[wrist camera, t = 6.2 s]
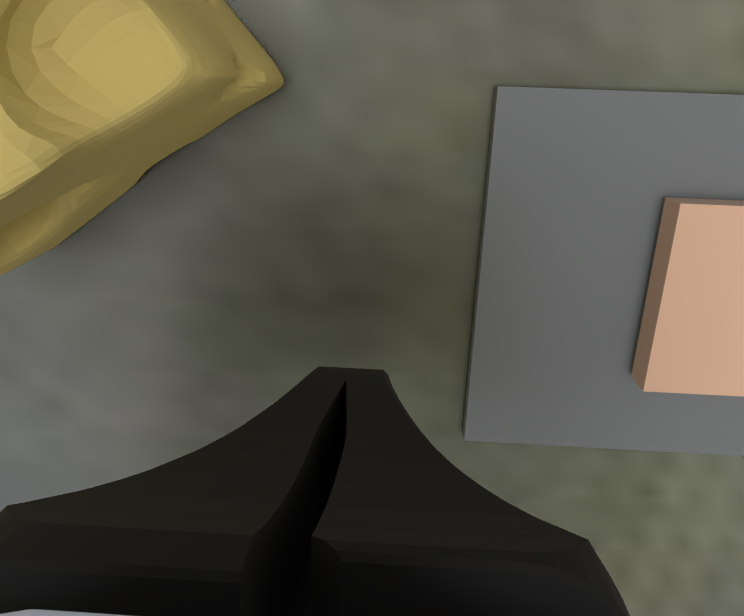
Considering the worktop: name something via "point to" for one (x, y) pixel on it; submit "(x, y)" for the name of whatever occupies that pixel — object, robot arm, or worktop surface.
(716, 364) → the tile
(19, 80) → the cheese
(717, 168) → the mat
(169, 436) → the worktop surface
